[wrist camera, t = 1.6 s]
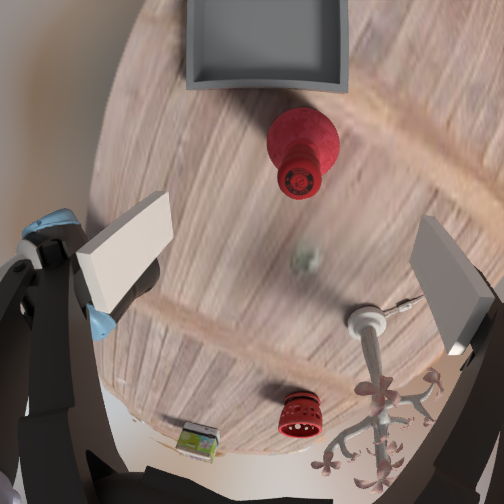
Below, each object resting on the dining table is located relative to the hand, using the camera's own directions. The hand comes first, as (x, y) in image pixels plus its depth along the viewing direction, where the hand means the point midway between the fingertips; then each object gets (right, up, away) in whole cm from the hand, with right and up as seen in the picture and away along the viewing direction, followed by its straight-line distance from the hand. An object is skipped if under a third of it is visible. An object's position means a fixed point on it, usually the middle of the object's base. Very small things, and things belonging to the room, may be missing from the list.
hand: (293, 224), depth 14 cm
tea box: (-23, -79, +94) cm, 125 cm away
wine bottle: (+7, +18, +31) cm, 37 cm away
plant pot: (+14, -48, +68) cm, 85 cm away
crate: (+1, +36, +22) cm, 42 cm away
